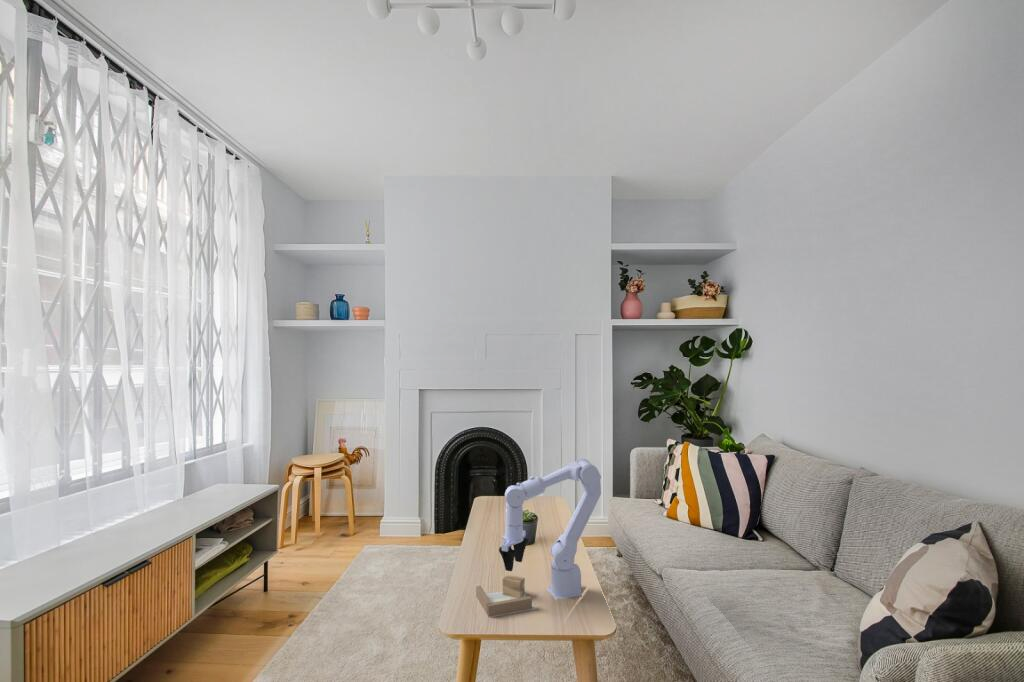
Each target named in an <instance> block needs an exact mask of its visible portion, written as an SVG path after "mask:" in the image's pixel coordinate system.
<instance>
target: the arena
mask: <svg viewBox="0 0 1024 682" xmlns="http://www.w3.org/2000/svg"><path fill="white" fill-rule="evenodd" d="M475 598H476V599H477V600H478V602H479V604H480V605H481V607H482V610H484V612H485V614H486V615H487V617H488V618H489V619H490V618H494V617H499V616H500V617H501V616H506V615H509V614H510V615H511V614H516V613H521V612H527V611H531V610H532V611H533V610H537V609H538V608H537V607H536V605H535V604H534V603H533V598H532V597H531V596H530V595H529V596H528V595H527V594H526V593H524V594H523V595H522V596H521V597H520V598H516V597H511V596H507V595H503V590H500V591H496V592H488V593H486V591H485V590H484V589H483V587H482V586H481V585H476V586H475Z"/></svg>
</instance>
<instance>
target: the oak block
mask: <svg viewBox="0 0 1024 682" xmlns="http://www.w3.org/2000/svg"><path fill="white" fill-rule="evenodd" d="M525 582H526V579H525V577H523V576H519V575H515V574H510V573H507V575H505V576H504V577H503V578H502V591H503V595H507V596H511V597H516V598H520V597H521V596H522V595H523V594H524V593H525V592H526V591H525V584H526V583H525ZM525 594H526V593H525Z"/></svg>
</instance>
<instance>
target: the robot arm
mask: <svg viewBox="0 0 1024 682" xmlns="http://www.w3.org/2000/svg"><path fill="white" fill-rule="evenodd" d="M601 475H602V474H601V473H600V471H599V469H598V468H597V466H595V465H594V464H592V463H591V461H589V460H588V459H585V458H581V459H579V460H577V461H575V460H574V461H572V462H570V463H569V464H566V465H565V466H563V467H561V468H559V469H557V470H555V471H553V472H551V473H549V474H547V475H545V476H543V477H540V476H537V475H536V476H534V475H532V476H530V477H529V479H526V480H525V481H522V482H516V484H515V485H512V484H511V485H509V486H508V487H506V488H507V489H505V492H504V498H505V500H506V502H505V521H504V524H505V525H504V526H505V530H504V531H505V534H503V535H502V537H501V538H502V539H503V542H502V544H501V546H500V547H499V548H498V552H499V554H500V555H501V559H502V562H503V565H504V570H505V571H507V572H512V571H513V569H514V563H515V562H517V563H523V559H524V554H525V549H526V547H527V544H528V542H529V539H528V538H526V536H527V535H526V531H527V530H524V528H523V527H524V509H523V504H524V503H525V501H528V500H530V499H533V498H536V497H537V496H539V495H542V494H543V493H545V491H546V489H547V488H549V487H551V486H554V485H556V484H558V483H561V482H564V481H566V480H572V481H577V482H579V481H580V482H581V485H582V488H583V490H584V491H583V493H582V495H581V497H580V499H579V502H578V503H577V505H576V508H575V510H574V511H573V514H572V515H571V517H570V520H569V522H568V523H567V526H566V528H565V530H564V531H563V533H562V534H560V535H559V536H558V538H557V540H556V541H555V542H553V544H552V545H551V547H550V555H551V556H552V558H553V560H552V562H551V563H550V564H551V565H550V567H551V568H550V569H551V570H550V577H551V578H550V587H547V588H546V590H547V592H548V593H550V594H551V596H552V597H553V598H554V599H555V600H562V599H567V598H573V597H578V596H580V597H582V596H583V594H582V573H581V569H580V566H579V564H577V563H575V556H576V554H577V551H578V542H579V540H580V538H581V536H582V534H583V532H584V529H585V527H586V525H587V524H588V522H589V519H590V517H591V515H592V513H593V511H594V510H595V508H596V506H597V503H598V501H599V499H600V497H601V495H602V486H601V483H602V482H601V478H602V476H601ZM512 547H513V548H512Z"/></svg>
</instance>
